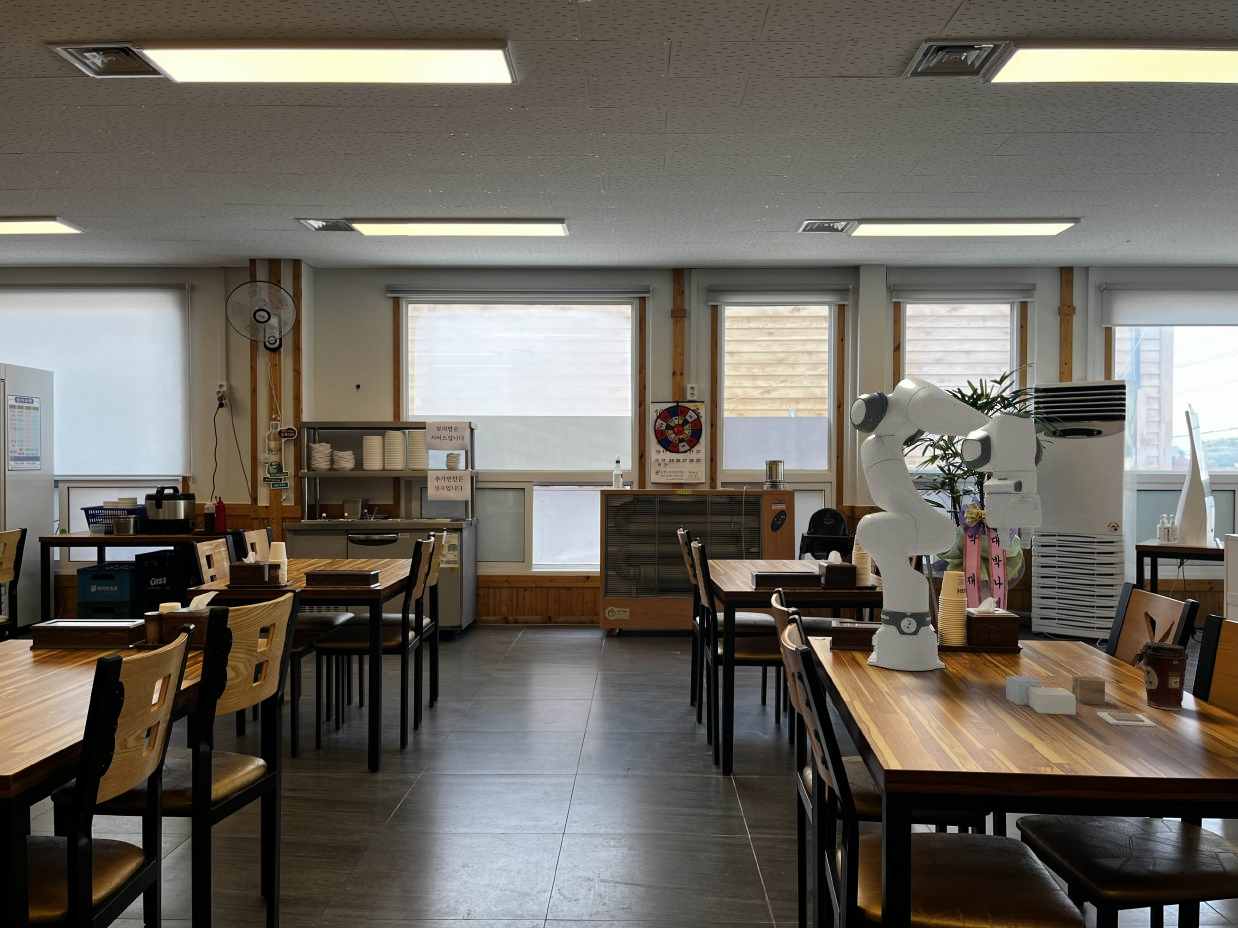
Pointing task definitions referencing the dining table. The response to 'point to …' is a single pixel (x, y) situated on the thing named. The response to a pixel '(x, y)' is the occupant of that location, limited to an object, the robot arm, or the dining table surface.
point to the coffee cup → (1164, 674)
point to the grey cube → (1020, 688)
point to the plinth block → (1052, 700)
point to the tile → (1126, 719)
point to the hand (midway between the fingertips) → (1015, 549)
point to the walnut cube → (1088, 689)
